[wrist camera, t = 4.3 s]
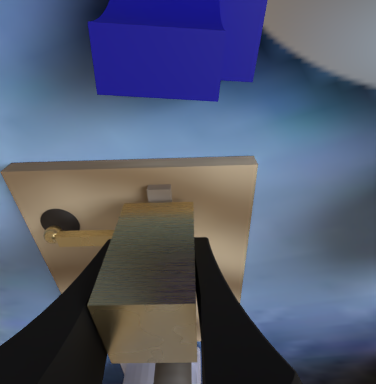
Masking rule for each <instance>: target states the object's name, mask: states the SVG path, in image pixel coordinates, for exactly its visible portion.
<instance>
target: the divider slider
mask: <svg viewBox="0 0 376 384" xmlns="http://www.w3.org/2000/svg"><path fill="white" fill-rule="evenodd" d="M44 239H45V241H46V242H48V243H50V244H56V243H58V245H59V247H84V246H103V245H104V244H105V243H106V242H107V240H109V239H111V241H110V244H109V247H108V249H107V252H106V255H105V258H104V260H103V263H102V266H101V269H100V271H99V274H98V277H97V280H96V282H95V285H94V288H93V291H92V293H91V296H90V299H89V302H88V305H87V307H88V309H89V311H90V314H91V316H92V318H93V321H94V323H95V325H96V328H97V330H98V332H99V335H100V337H101V339H102V342H103V344H104V346H105V349H106V351H107V353H108V356H109V358H110V360H111V363H190V362H197V325H196V285H195V249H194V206H193V202H164V203H124V205H123V208H122V211H121V214H120V216H119V219H118V222H117V225H116V227H115V230H82V231H63V229H62V228H61V227H59V226H50V227H48V228H47V229H46V230H45V232H44Z"/></svg>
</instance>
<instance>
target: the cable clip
mask: <svg viewBox="0 0 376 384" xmlns="http://www.w3.org/2000/svg"><path fill="white" fill-rule="evenodd" d="M266 5H267V0H109V3H108V5H107V7H106V9H105V11H104V12H103V14H102V15H101V16H100V17H99V18H97V19H96V20H94V21H89V22H88V29H89V36H90V44H91V51H92V59H93V66H94V74H95V81H96V89H97V95H114V96H131V97H149V98H166V99H183V100H200V101H217V102H218V98H219V90H220V81H221V80H225V81H241V82H253V77H254V71H255V66H256V60H257V55H258V49H259V44H260V38H261V33H262V27H263V22H264V16H265V11H266Z"/></svg>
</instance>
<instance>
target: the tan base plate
mask: <svg viewBox="0 0 376 384" xmlns="http://www.w3.org/2000/svg"><path fill="white" fill-rule="evenodd" d="M257 168H258V164H257V162H256V160H255V158H254V156H234V157H200V158H165V159H131V160H96V161H61V162H27V163H11V164H10V165H9V166H7V167H6V168H5V169H4V170H2V171H1V174H2V176H3V178H4V180H5V182H6V184H7V186H8V188H9V190H10V192H11V194H12V196H13V198H14V200H15V202H16V204H17V206H18V208H19V210H20V212H21V214H22V216H23V218H24V220H25V222H26V224H27V226H28V228H29V230H30V232H31V234H32V236H33V238H34V240H35V242H36V244H37V246H38V248H39V250H40V252H41V254H42V256H43V258H44V260H45V262H46V264H47V266H48V268H49V270H50V272H51V274H52V276H53V278H54V280H55V282H56V284H57V286H58V288H59V290H60V292H61V294H62V293H63V292H64V291H65V290H66V289H67V288H68V287H69V286H70V285H71V283H72V282H73V281H74V280H75V279H76V278H77V277H78V276H79V275H80V274H81V272H82V271H83V270H84V269H85V268H86V266H87V265H88V264H89V263H90V262H91V261H92V259H93V258H94V257H95V256H96V254H97V253H98V252H99V251H100V249H101V248H102V247H103V246H84V247H59V245H58V243H56V244H50V243H48V242H46V241H45V239H44V232H45V230H46V229H47V228H48V227H50V226H59V227H61V228H62V229H63V231H82V230H115V227H116V225H117V222H118V219H119V216H120V214H121V211H122V208H123V205H124V203H164V202H193V206H194V237H207V238H208V239H209V243H210V246H211V249H212V252H213V255H214V257H215V260H216V262H217V264H218V266H219V268H220V270H221V272H222V274H223V276H224V278H225V280H226V282H227V284H228V285H229V287H230V289H231V291H232V292H233V294H234V295H235V297H236V299H237V300H238V302H239V303H240V298H241V291H242V283H243V275H244V268H245V260H246V252H247V245H248V237H249V229H250V222H251V214H252V206H253V199H254V191H255V183H256V176H257ZM196 325H197V341H201V333H200V324H199V315H198V307H197V298H196ZM153 384H192V362H190V363H155V373H154V383H153Z"/></svg>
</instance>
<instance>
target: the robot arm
mask: <svg viewBox="0 0 376 384" xmlns="http://www.w3.org/2000/svg"><path fill="white" fill-rule="evenodd" d="M110 241H111V239H109V240H107V242H106V243H105V244H104V245H103V247H102V248H101V249H100V251H99V252H98V253H97V254H96V256H95V257H94V258H93V259H92V261H91V262H90V263H89V264H88V265H87V266H86V268H85V269H84V270H83V271H82V272H81V274H80V275H79V276H78V277H77V278H76V279H75V280H74V281H73V282H72V283H71V285H70V286H69V287H68V288H67V289H66V290H65V291H64V292H63V293H62V294H61V295H60V296H59V297H58V298H57V299H56V300H55V301H54V302H53V303H52V304H51V305H50V306H49V307H48V308H47V309H45V310H44V311H43V312H42V313H41V314H40V315H39V316H37V317H36V318H35V319H34V320H33V321H32V322H30V323H29V324H28V325H27V326H26V327H24V328H23V329H22V330H21V331H19V332H18V333H17V334H16V335H14V336H13V337H12V338H10V339H9V340H8V341H6V342H5V343H4V344H2V345H1V346H0V384H102V380H103V374H104V369H105V363H106V358H107V351H106V349H105V346H104V344H103V342H102V339H101V337H100V335H99V332H98V330H97V328H96V325H95V323H94V321H93V318H92V316H91V314H90V311H89V309H88V307H87V305H88V302H89V299H90V296H91V293H92V291H93V288H94V285H95V282H96V280H97V277H98V274H99V271H100V269H101V266H102V263H103V260H104V258H105V255H106V252H107V249H108V247H109V244H110ZM194 249H195V285H196V298H197V307H198V315H199V324H200V333H201V352H202V381H203V384H302V382H301V380H300V378H299V377H298V375H297V373H296V371H295V370H294V369H293V368H292V367H291V366H290V365H289V364H288V363H287V361H286V360H285V359H284V358H283V357H282V356H281V355H280V354H279V353H278V352H277V351H276V350H275V348H274V347H273V346H272V345H271V344H270V343H269V341H268V340H267V339H266V338H265V337H264V335H263V334H262V333H261V332H260V330H259V329H258V328H257V327H256V325H255V324H254V323H253V321H252V320H251V319H250V318H249V316H248V315H247V313H246V312H245V310H244V309H243V308H242V306H241V305H240V303H239V302H238V300H237V299H236V297H235V295H234V294H233V292H232V291H231V289H230V287H229V285H228V284H227V282H226V280H225V278H224V276H223V274H222V272H221V270H220V268H219V266H218V264H217V262H216V260H215V257H214V255H213V252H212V249H211V246H210V243H209V239H208V238H207V237H194ZM120 365H121V367H122V370H123V372H124V380H123V384H153V383H154V373H155V363H120ZM192 384H201V369H200V348H199V347H197V362H192Z"/></svg>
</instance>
